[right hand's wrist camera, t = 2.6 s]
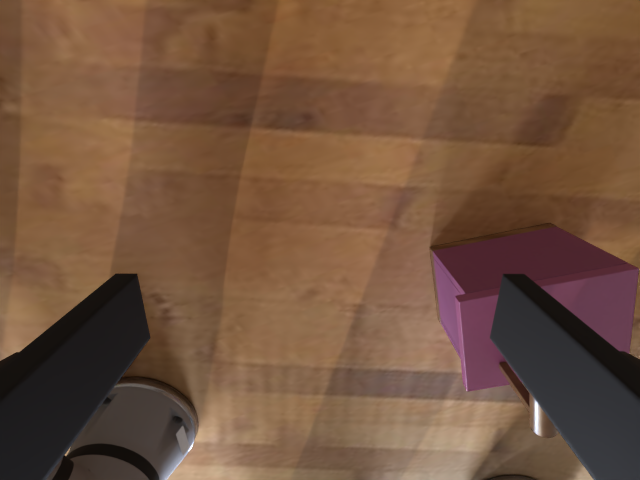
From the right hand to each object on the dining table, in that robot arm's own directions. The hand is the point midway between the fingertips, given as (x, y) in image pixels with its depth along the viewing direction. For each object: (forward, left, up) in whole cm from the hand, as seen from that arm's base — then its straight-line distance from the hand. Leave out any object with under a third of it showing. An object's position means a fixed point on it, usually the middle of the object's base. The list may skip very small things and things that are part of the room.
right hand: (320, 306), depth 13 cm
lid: (-4, -23, -16) cm, 28 cm away
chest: (-4, -23, -26) cm, 35 cm away
